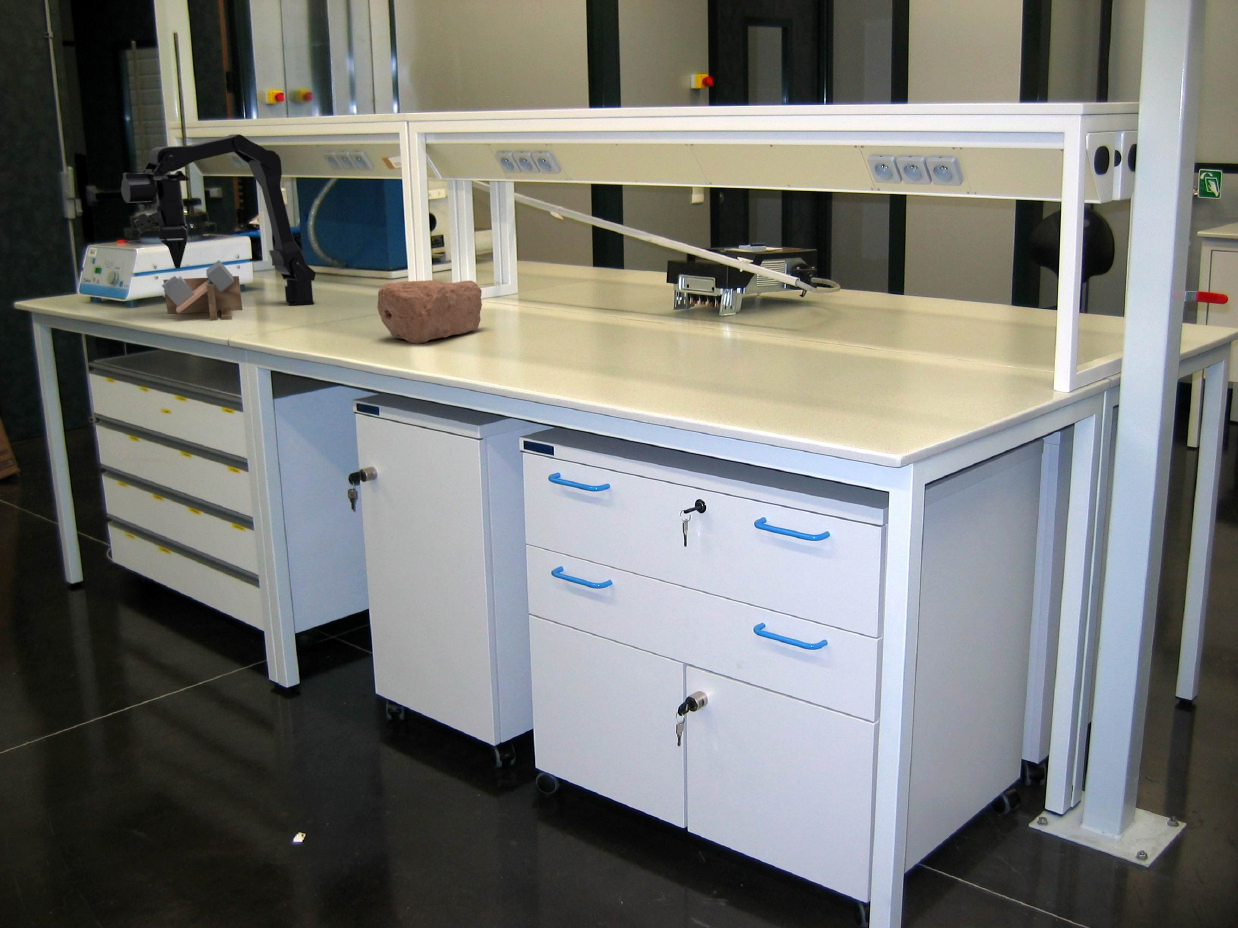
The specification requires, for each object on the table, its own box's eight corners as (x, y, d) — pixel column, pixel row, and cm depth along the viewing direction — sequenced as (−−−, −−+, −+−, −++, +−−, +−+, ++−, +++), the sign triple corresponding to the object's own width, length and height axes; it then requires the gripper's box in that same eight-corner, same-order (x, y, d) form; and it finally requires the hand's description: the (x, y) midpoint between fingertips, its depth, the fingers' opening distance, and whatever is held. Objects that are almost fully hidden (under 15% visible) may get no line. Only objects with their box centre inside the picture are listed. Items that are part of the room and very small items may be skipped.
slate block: (194, 292, 282) (177, 272, 279) (194, 294, 277) (177, 275, 275) (178, 304, 281) (161, 285, 279) (178, 307, 277) (160, 287, 274)
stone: (511, 325, 254) (494, 259, 252) (427, 339, 234) (409, 268, 233) (462, 340, 264) (446, 278, 263) (378, 355, 244) (360, 287, 243)
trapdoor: (232, 275, 288) (218, 260, 286) (234, 281, 275) (219, 265, 273) (185, 312, 286) (171, 297, 284) (184, 320, 274) (169, 304, 272)
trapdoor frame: (242, 309, 292) (238, 276, 290) (244, 318, 277) (240, 283, 274) (167, 313, 287) (163, 279, 284) (165, 323, 271) (161, 287, 269)
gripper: (136, 200, 278) (144, 264, 283) (131, 204, 261) (140, 272, 266) (184, 198, 282) (191, 262, 286) (183, 202, 265) (191, 269, 269)
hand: (178, 266), depth 277 cm, fingers open, 9 cm apart
